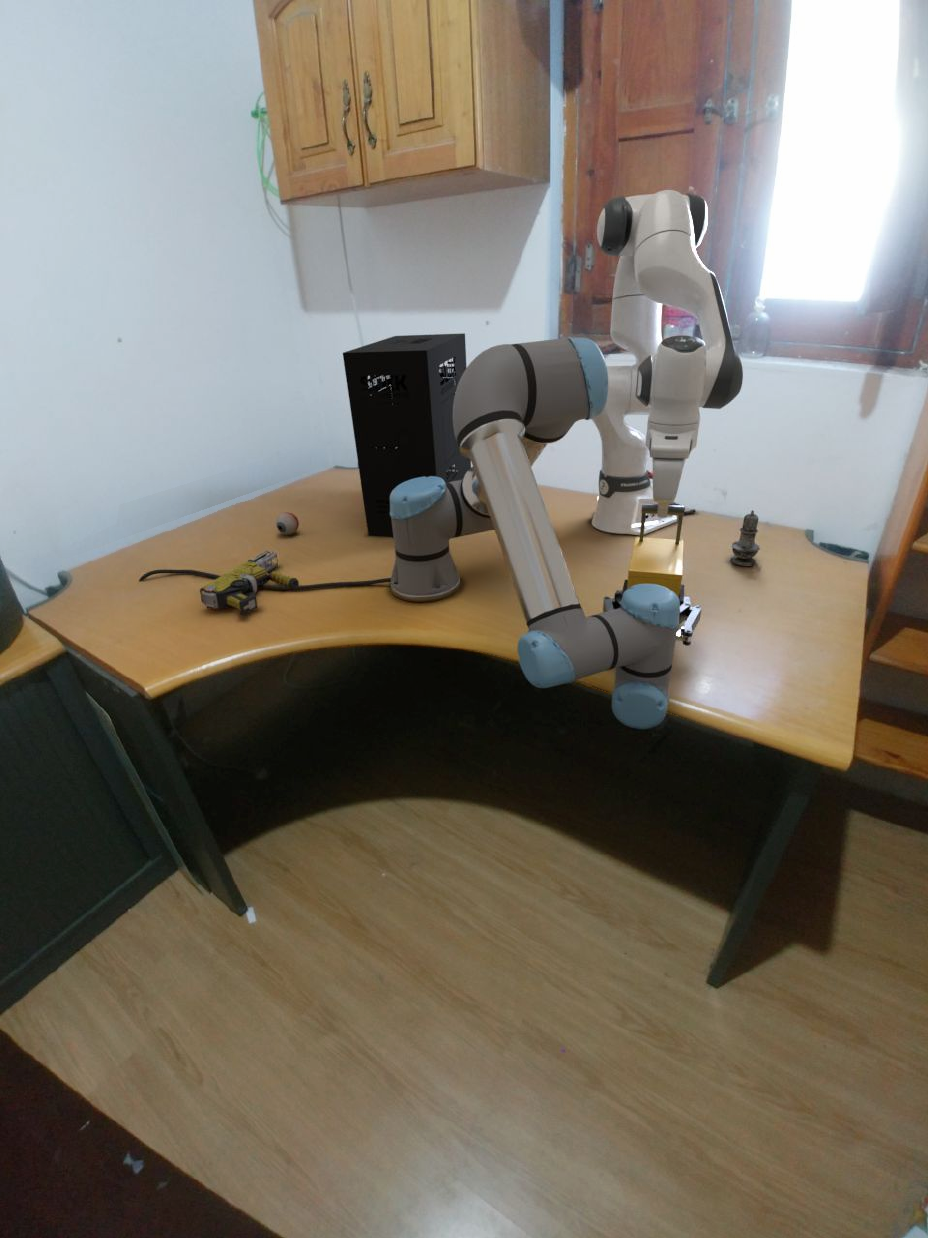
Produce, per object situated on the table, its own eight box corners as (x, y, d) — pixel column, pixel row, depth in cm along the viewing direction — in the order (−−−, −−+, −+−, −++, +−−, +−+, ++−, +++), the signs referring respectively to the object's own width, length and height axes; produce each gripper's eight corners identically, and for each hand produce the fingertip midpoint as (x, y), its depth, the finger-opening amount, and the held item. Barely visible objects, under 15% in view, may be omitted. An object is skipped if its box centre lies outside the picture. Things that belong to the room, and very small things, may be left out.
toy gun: (318, 559, 142) (264, 548, 146) (255, 602, 122) (194, 588, 125) (320, 577, 144) (266, 565, 148) (258, 622, 124) (198, 608, 128)
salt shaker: (759, 566, 133) (770, 515, 127) (731, 565, 134) (740, 514, 128) (754, 555, 138) (764, 505, 132) (726, 555, 139) (735, 505, 133)
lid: (635, 541, 122) (639, 499, 118) (683, 545, 120) (689, 502, 115) (628, 575, 109) (632, 530, 105) (681, 580, 106) (688, 534, 102)
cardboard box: (441, 538, 157) (426, 350, 134) (368, 534, 161) (342, 352, 139) (472, 491, 188) (464, 333, 166) (410, 490, 193) (395, 335, 170)
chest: (630, 590, 127) (634, 543, 122) (676, 594, 124) (683, 547, 119) (623, 626, 115) (628, 576, 109) (674, 632, 112) (681, 581, 107)
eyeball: (273, 537, 164) (268, 516, 161) (287, 528, 169) (282, 508, 166) (291, 539, 161) (286, 518, 158) (305, 530, 166) (301, 510, 163)
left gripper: (574, 663, 100) (593, 600, 118) (716, 682, 93) (712, 612, 112) (576, 624, 96) (595, 565, 114) (724, 641, 90) (719, 576, 108)
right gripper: (656, 422, 118) (649, 491, 125) (650, 450, 101) (642, 527, 108) (690, 423, 116) (681, 493, 123) (689, 451, 99) (679, 530, 106)
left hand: (653, 588), depth 113 cm, fingers closed on chest, 9 cm apart
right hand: (662, 509), depth 115 cm, fingers open, 6 cm apart
